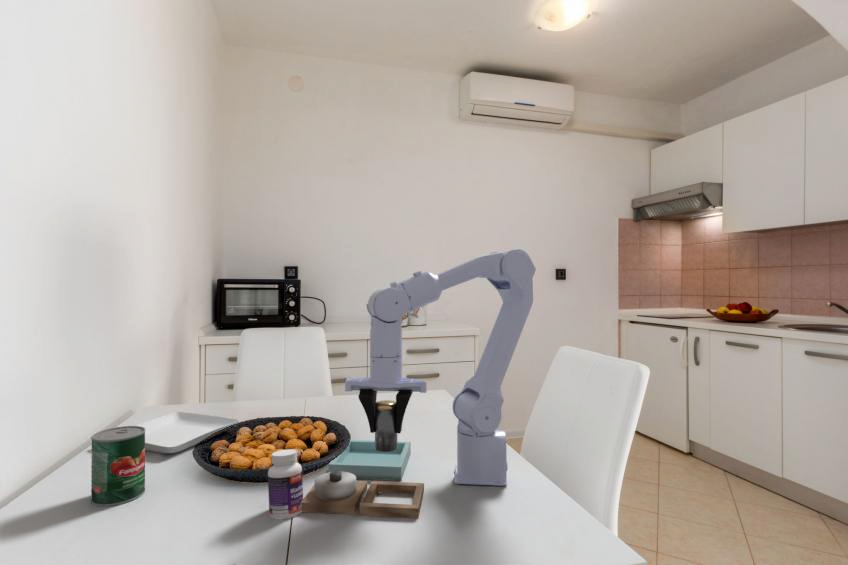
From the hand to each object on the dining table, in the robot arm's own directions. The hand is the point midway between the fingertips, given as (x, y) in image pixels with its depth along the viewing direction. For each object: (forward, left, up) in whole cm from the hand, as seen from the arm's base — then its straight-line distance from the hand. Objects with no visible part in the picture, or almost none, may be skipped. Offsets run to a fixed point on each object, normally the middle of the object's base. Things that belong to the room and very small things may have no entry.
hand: (386, 431), depth 84 cm
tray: (+5, -11, -10) cm, 16 cm away
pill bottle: (+15, +9, -11) cm, 21 cm away
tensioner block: (+3, +5, -10) cm, 12 cm away
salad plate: (+55, -22, -11) cm, 60 cm away
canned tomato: (+46, +7, -11) cm, 48 cm away
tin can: (0, 0, -3) cm, 3 cm away
